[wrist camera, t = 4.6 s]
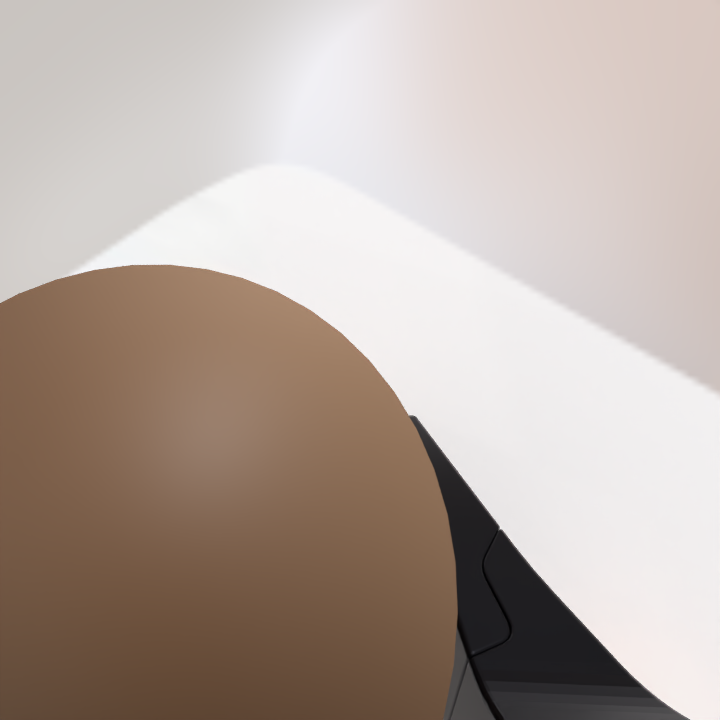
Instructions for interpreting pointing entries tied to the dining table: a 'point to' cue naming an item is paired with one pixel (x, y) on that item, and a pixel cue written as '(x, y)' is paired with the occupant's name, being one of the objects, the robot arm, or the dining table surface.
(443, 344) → the dining table surface
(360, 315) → the dining table surface
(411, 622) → the walnut post
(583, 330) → the dining table surface
